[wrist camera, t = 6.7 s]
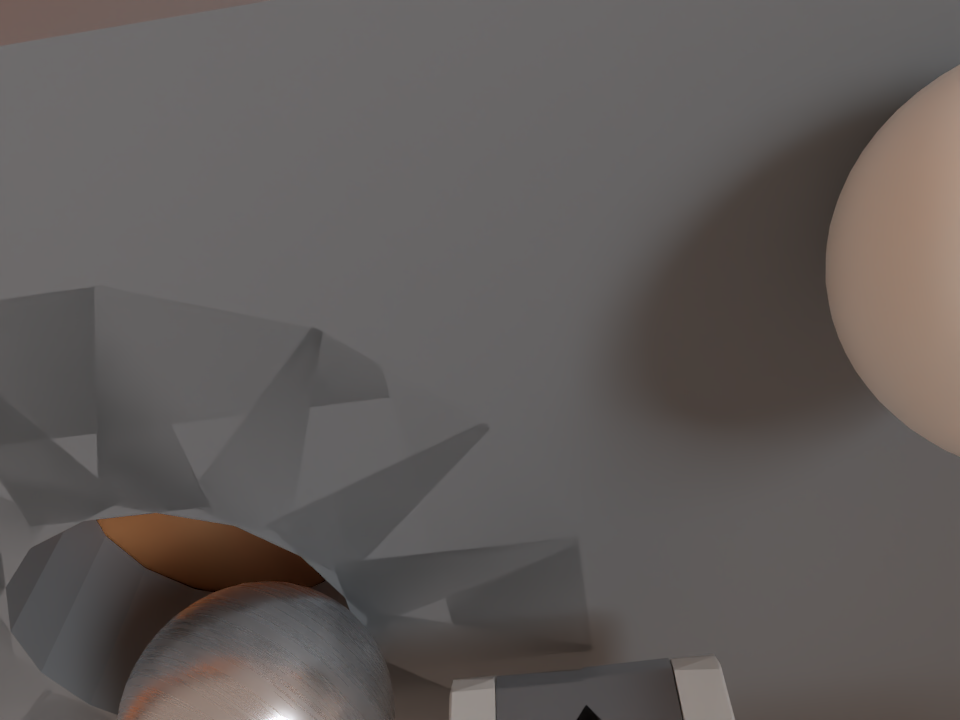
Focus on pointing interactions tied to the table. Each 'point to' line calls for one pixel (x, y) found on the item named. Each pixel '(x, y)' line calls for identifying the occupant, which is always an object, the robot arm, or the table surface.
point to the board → (466, 339)
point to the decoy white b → (904, 263)
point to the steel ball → (261, 661)
